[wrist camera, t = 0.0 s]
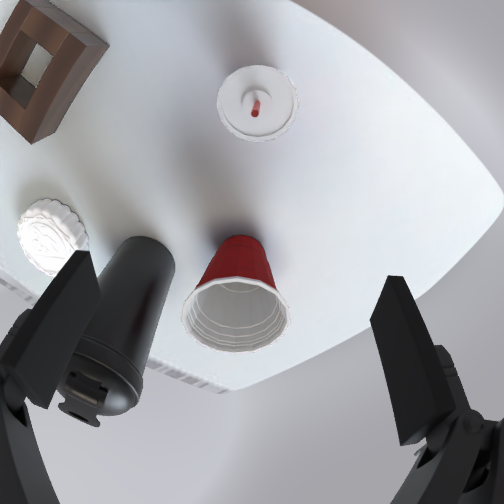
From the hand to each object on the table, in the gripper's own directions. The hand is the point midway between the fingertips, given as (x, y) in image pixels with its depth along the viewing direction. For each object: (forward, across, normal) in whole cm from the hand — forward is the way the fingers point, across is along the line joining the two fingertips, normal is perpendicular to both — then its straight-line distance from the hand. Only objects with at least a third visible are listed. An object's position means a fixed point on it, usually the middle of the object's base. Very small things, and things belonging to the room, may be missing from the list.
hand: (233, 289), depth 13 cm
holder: (+23, -26, +11) cm, 36 cm away
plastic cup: (+23, 0, -14) cm, 27 cm away
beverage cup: (+23, 0, +6) cm, 24 cm away
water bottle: (+23, -14, -17) cm, 32 cm away
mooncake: (+23, -28, -13) cm, 39 cm away
